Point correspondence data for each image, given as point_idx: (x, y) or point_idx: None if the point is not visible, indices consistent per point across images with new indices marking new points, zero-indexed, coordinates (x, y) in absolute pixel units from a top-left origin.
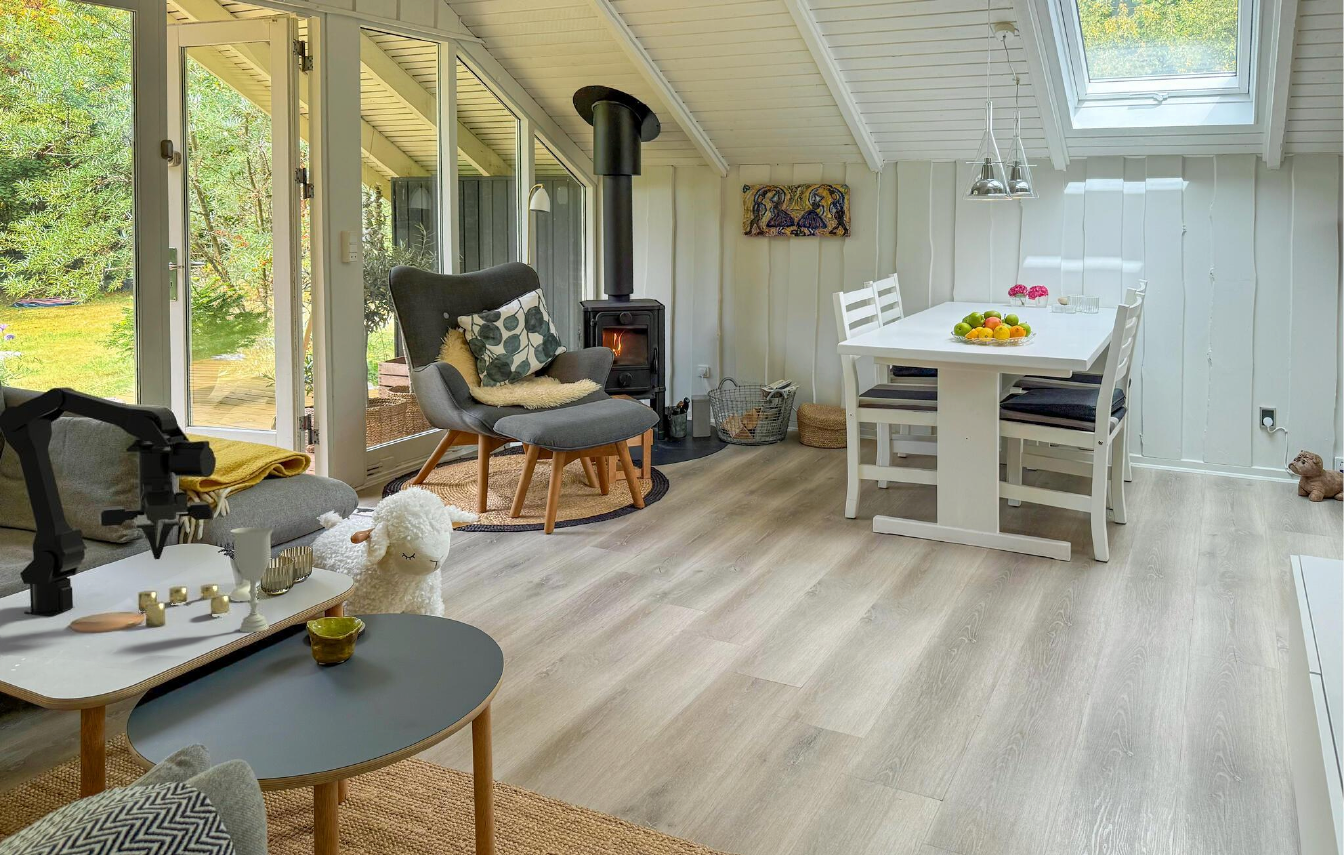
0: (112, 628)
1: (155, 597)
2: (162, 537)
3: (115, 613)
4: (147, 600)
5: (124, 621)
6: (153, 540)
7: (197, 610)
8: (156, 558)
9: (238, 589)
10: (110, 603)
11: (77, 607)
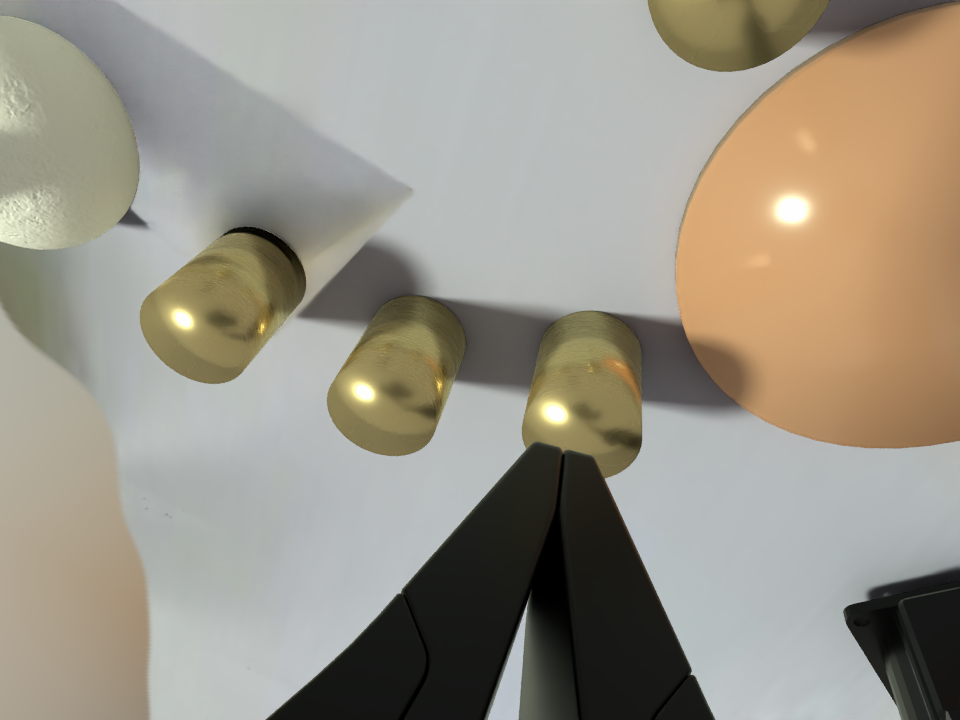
0: None
1: (548, 375)
2: (433, 693)
3: (781, 393)
4: (606, 366)
5: (889, 129)
6: (626, 700)
7: (342, 215)
8: (576, 454)
9: (16, 135)
10: None
11: (771, 660)
